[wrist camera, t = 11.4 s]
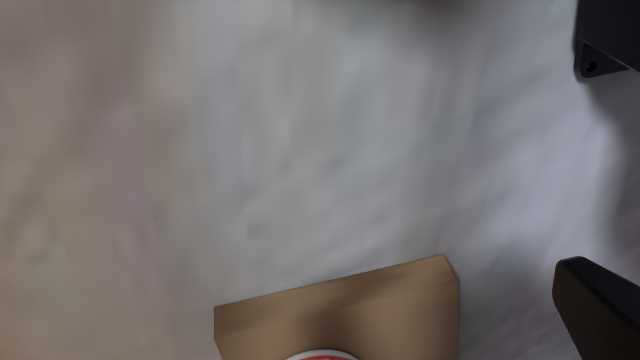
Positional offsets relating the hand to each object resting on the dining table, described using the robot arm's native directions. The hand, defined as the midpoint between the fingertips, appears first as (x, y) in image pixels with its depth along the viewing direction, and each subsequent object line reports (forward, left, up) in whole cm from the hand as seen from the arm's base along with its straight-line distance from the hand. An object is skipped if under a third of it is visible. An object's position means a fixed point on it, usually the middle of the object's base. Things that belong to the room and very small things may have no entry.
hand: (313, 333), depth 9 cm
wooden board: (-1, +17, -13) cm, 21 cm away
